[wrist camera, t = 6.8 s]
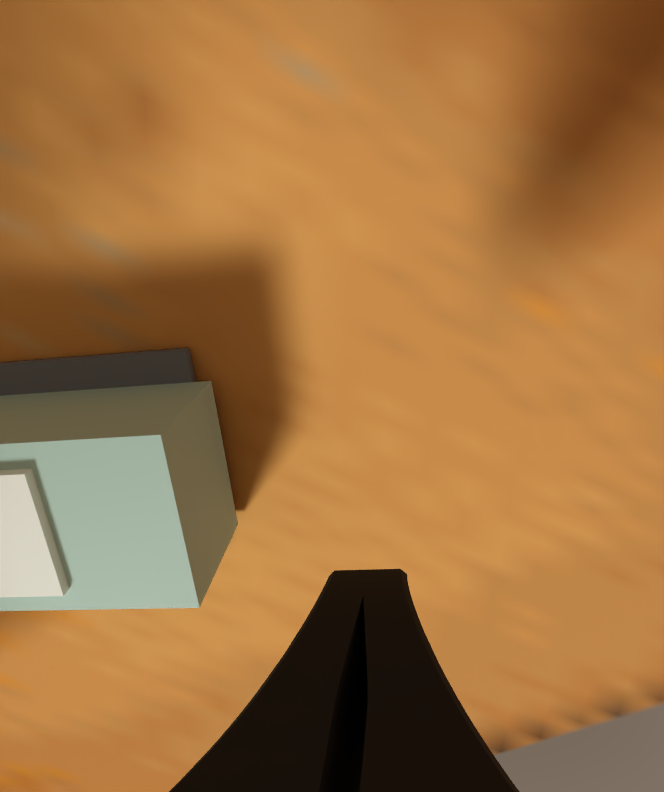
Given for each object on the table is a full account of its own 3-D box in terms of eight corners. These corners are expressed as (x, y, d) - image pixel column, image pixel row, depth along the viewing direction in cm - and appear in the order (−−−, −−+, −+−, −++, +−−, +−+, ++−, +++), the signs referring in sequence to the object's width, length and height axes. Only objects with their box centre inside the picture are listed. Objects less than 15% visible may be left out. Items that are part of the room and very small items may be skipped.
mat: (-37, 553, 21) (-43, 558, 20) (-106, 371, 18) (-114, 373, 18) (227, 544, 19) (225, 550, 19) (189, 347, 17) (185, 350, 17)
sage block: (238, 524, 19) (-37, 534, 20) (211, 380, 17) (-86, 401, 18) (195, 615, 15) (-144, 620, 16) (155, 440, 13) (-220, 461, 14)
